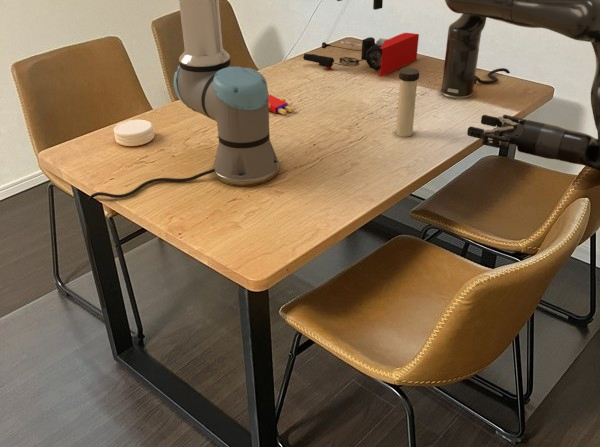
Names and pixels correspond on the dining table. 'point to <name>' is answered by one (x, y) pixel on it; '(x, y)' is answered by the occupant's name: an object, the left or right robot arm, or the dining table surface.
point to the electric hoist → (377, 53)
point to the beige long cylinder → (406, 108)
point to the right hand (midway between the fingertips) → (474, 124)
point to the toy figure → (278, 105)
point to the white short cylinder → (134, 132)
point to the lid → (409, 74)
